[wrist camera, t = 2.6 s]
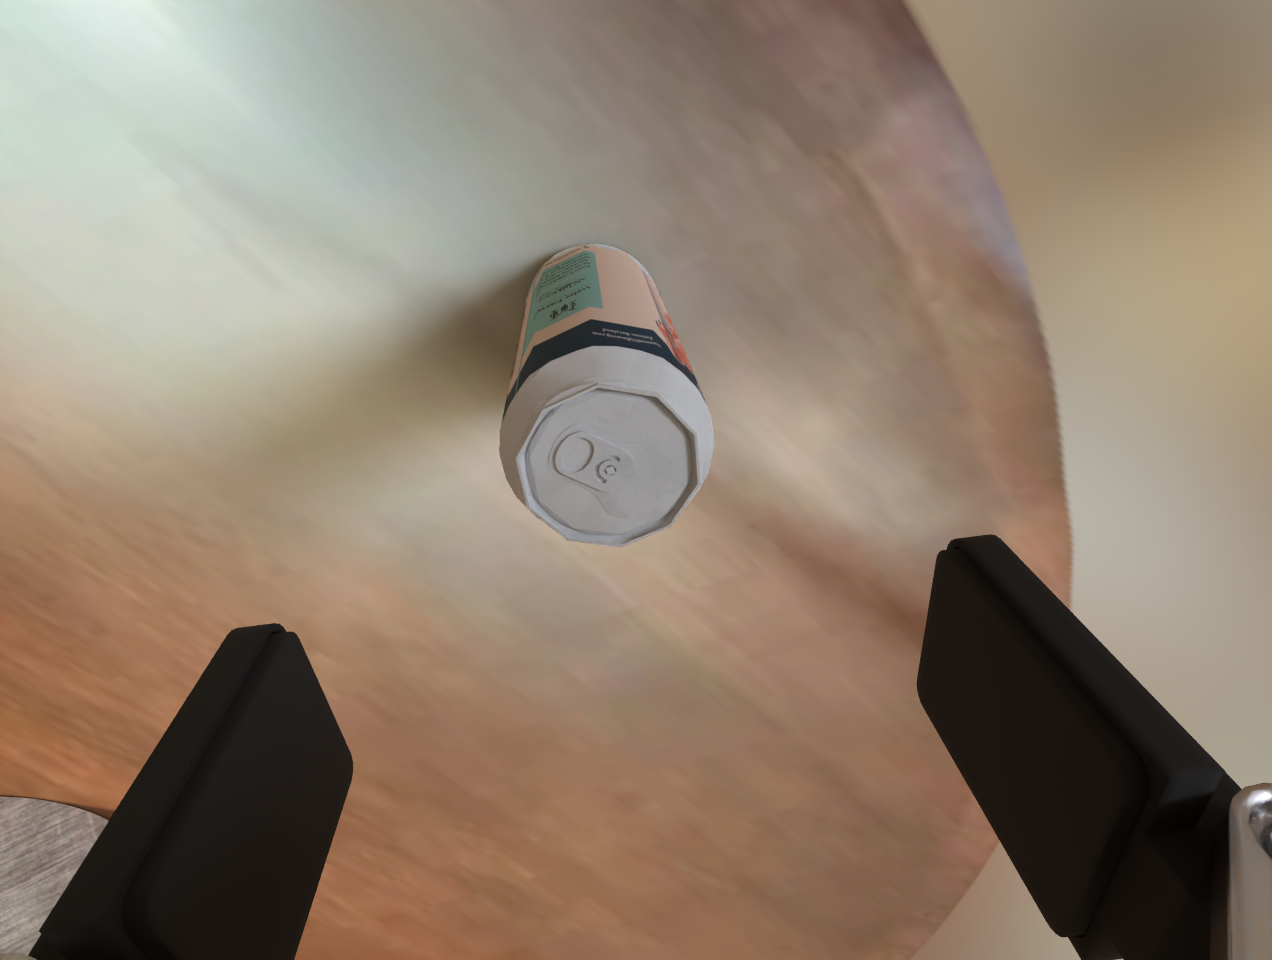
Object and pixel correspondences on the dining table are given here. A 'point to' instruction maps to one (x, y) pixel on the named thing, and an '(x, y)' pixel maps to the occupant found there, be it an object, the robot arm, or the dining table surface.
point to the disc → (38, 863)
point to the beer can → (602, 403)
